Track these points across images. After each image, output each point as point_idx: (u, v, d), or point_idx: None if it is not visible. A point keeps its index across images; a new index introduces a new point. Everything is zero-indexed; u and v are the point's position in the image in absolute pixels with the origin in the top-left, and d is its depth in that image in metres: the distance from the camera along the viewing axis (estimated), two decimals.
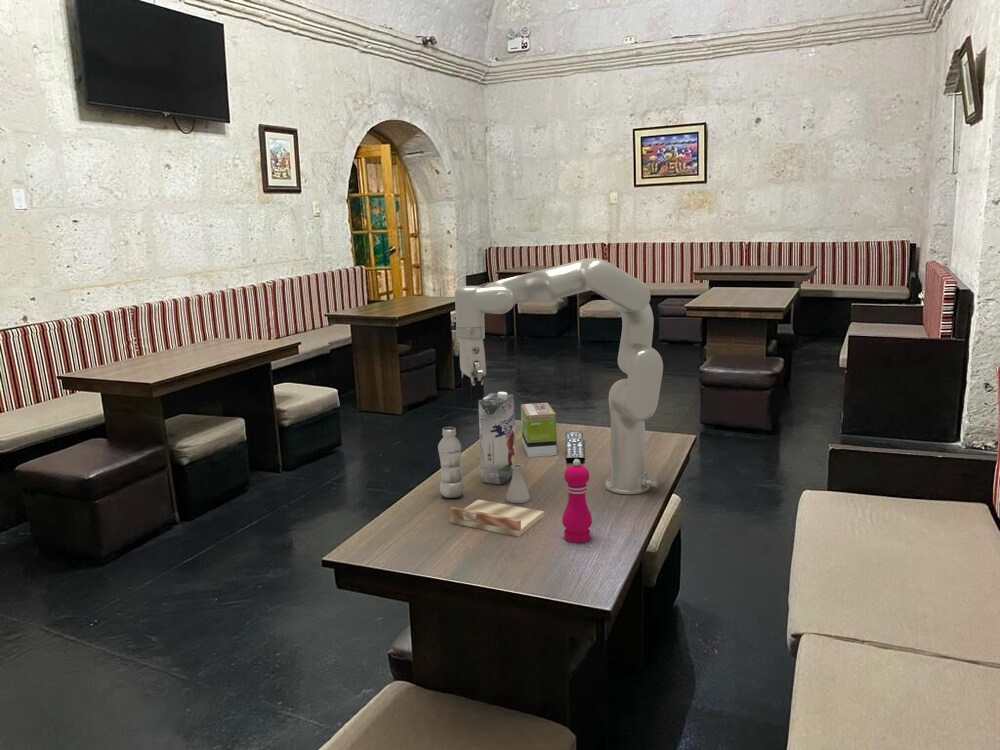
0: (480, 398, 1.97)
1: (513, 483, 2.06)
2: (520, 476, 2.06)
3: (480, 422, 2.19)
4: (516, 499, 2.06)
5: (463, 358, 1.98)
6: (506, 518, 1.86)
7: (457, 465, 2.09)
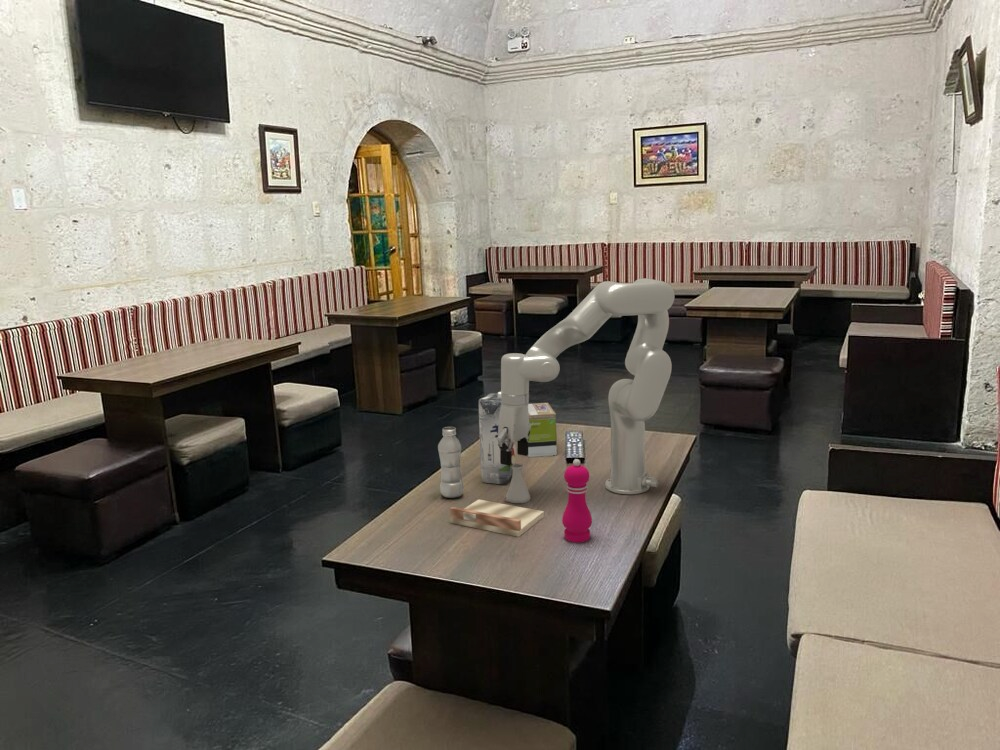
0: None
1: (513, 483, 2.06)
2: (520, 476, 2.06)
3: (480, 422, 2.19)
4: (516, 499, 2.06)
5: (524, 422, 2.04)
6: (506, 518, 1.86)
7: (457, 465, 2.09)
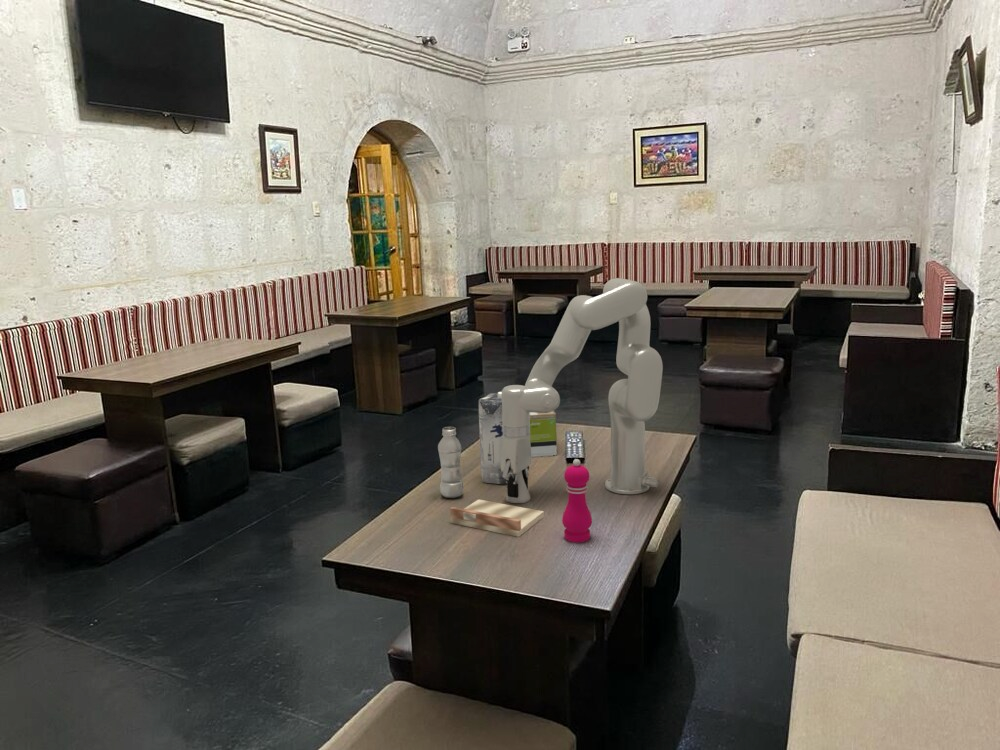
0: None
1: None
2: (520, 475, 2.06)
3: (480, 422, 2.19)
4: (516, 499, 2.06)
5: (526, 453, 2.06)
6: (506, 518, 1.86)
7: (457, 465, 2.09)
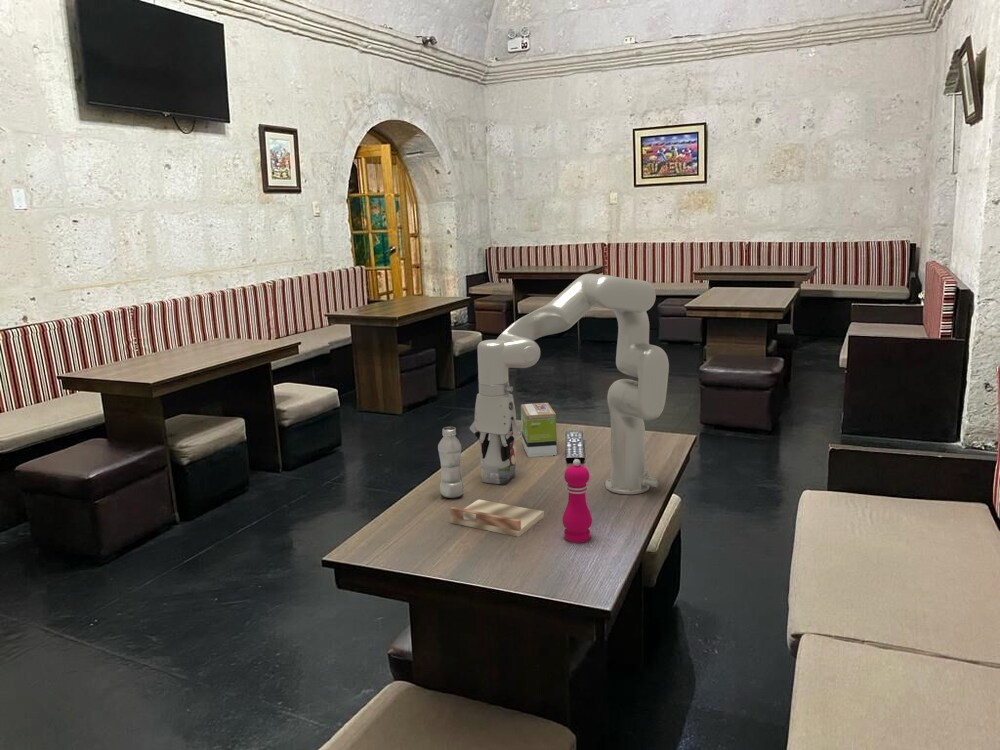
0: (508, 457, 1.91)
1: None
2: (490, 438, 1.90)
3: None
4: (484, 460, 1.92)
5: (493, 417, 1.87)
6: (506, 518, 1.86)
7: (457, 465, 2.09)
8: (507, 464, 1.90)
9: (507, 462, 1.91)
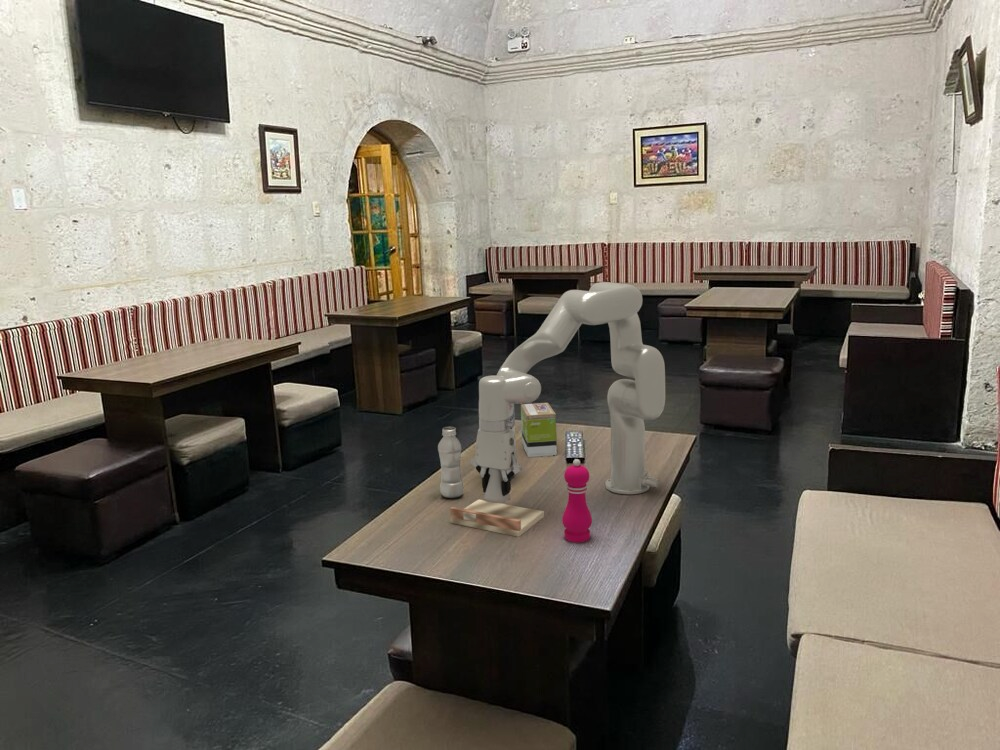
0: (508, 492, 1.93)
1: None
2: (491, 473, 1.92)
3: None
4: (484, 494, 1.94)
5: (494, 452, 1.89)
6: (506, 518, 1.86)
7: (457, 465, 2.09)
8: (507, 498, 1.92)
9: (507, 496, 1.92)
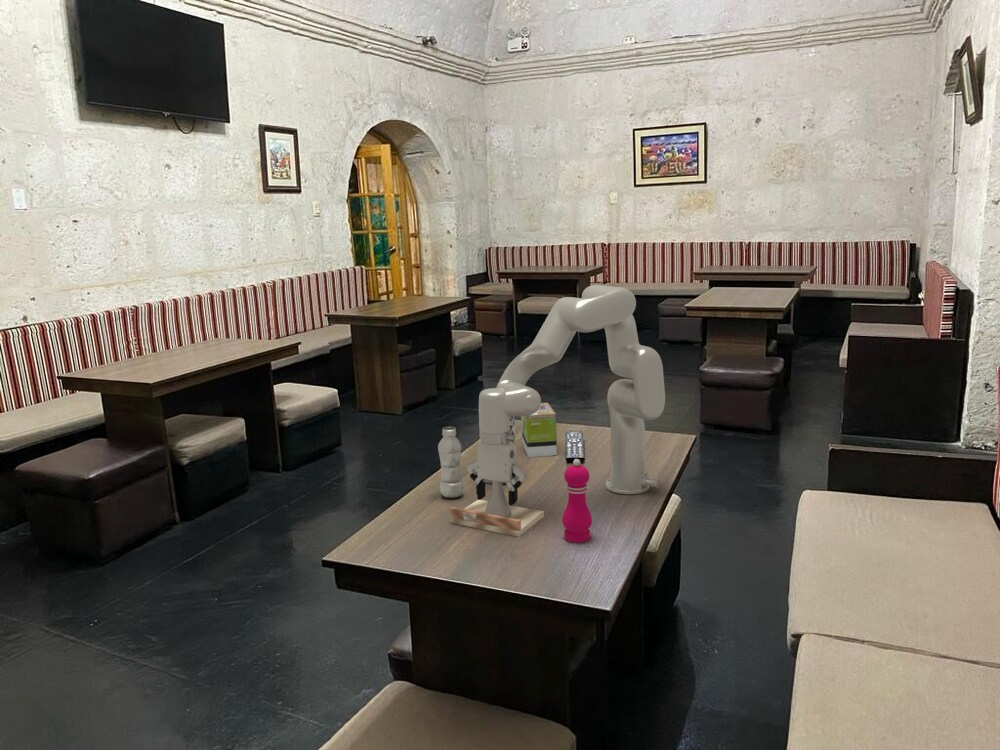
0: (515, 501, 1.92)
1: None
2: (492, 488, 1.93)
3: None
4: None
5: (494, 464, 1.89)
6: (506, 518, 1.86)
7: (457, 465, 2.09)
8: (509, 514, 1.93)
9: (509, 512, 1.93)
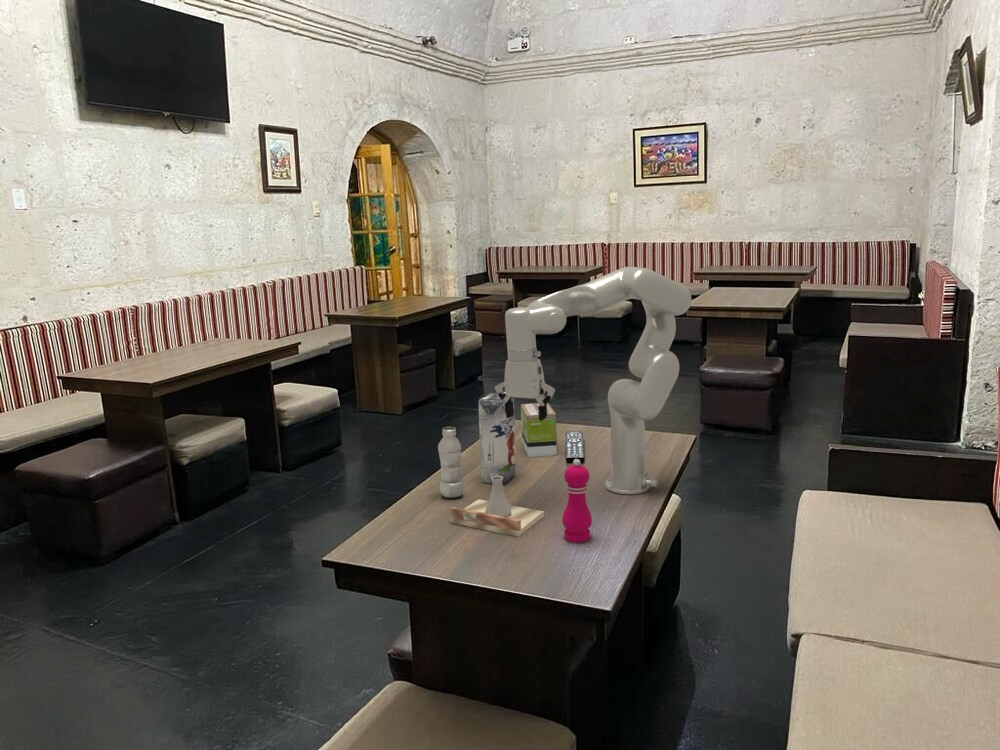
0: (545, 417, 1.98)
1: None
2: (492, 488, 1.93)
3: (480, 422, 2.19)
4: None
5: (523, 381, 1.94)
6: (506, 518, 1.86)
7: (457, 465, 2.09)
8: (509, 514, 1.93)
9: (509, 512, 1.93)
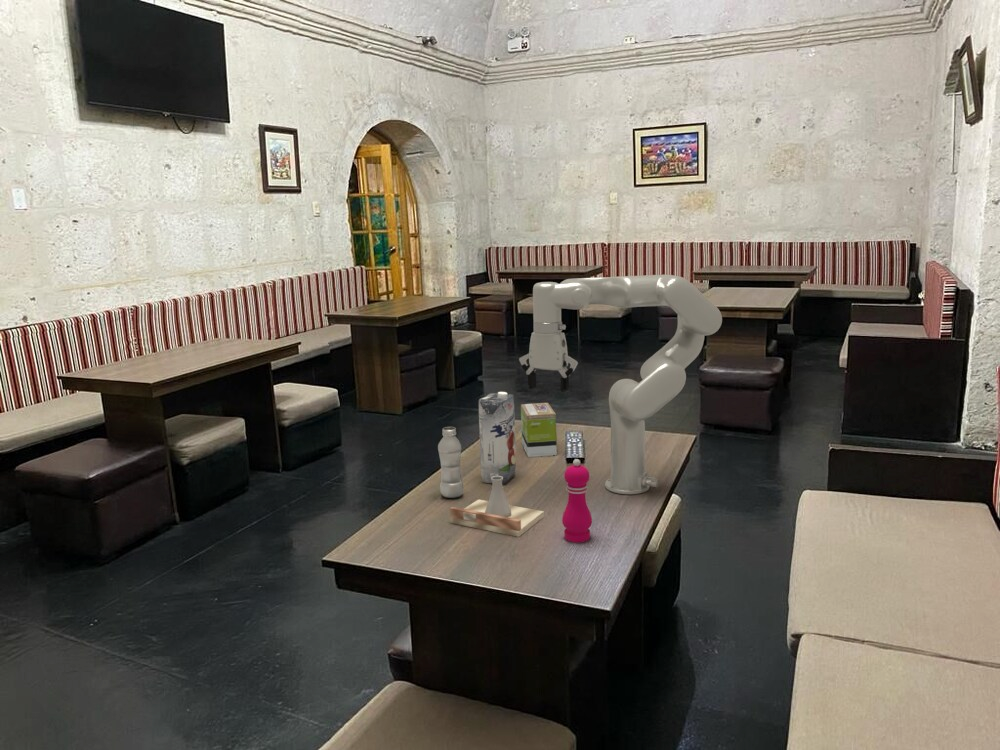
0: (566, 389, 2.05)
1: None
2: (492, 488, 1.93)
3: (480, 422, 2.19)
4: None
5: (547, 353, 2.02)
6: (506, 518, 1.86)
7: (457, 465, 2.09)
8: (509, 514, 1.93)
9: (509, 512, 1.93)
